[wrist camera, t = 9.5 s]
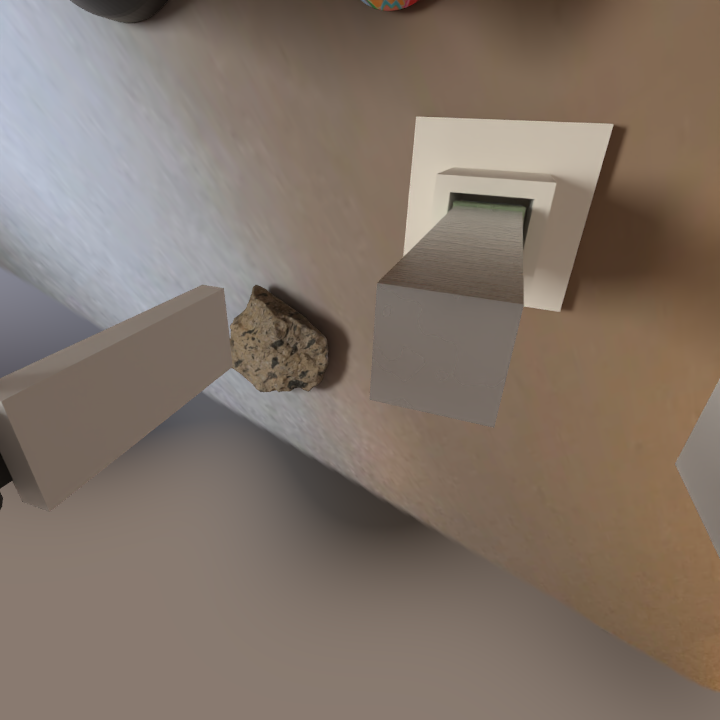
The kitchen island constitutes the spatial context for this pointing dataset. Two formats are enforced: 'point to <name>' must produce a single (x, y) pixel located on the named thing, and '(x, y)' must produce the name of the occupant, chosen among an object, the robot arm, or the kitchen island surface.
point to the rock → (277, 345)
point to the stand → (512, 186)
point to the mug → (389, 4)
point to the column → (452, 315)
